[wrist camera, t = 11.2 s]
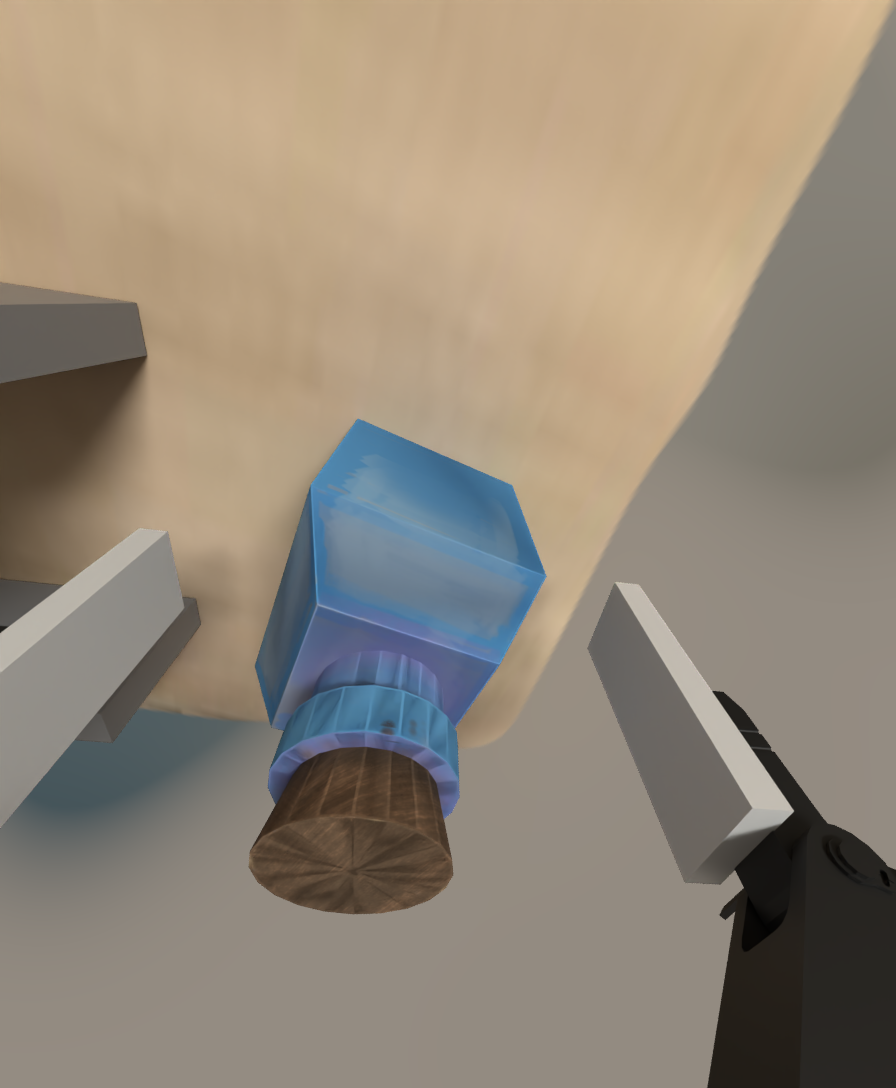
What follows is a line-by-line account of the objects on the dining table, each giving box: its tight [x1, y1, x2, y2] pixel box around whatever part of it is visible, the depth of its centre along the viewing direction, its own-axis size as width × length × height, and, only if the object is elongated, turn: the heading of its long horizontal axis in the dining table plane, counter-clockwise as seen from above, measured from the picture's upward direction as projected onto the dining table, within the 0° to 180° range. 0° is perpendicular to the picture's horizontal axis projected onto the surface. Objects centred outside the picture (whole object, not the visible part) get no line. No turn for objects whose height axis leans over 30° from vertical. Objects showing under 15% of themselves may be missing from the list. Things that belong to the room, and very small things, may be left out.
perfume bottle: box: [249, 419, 546, 914], centre depth 12 cm, size 6×6×12 cm
